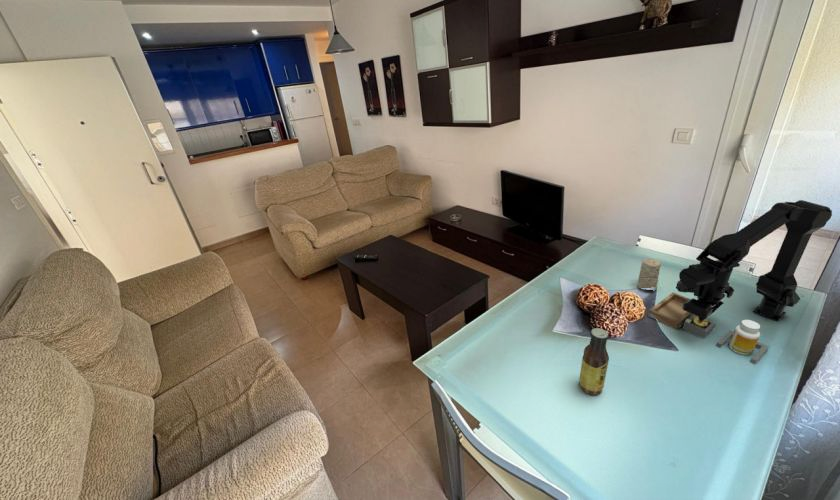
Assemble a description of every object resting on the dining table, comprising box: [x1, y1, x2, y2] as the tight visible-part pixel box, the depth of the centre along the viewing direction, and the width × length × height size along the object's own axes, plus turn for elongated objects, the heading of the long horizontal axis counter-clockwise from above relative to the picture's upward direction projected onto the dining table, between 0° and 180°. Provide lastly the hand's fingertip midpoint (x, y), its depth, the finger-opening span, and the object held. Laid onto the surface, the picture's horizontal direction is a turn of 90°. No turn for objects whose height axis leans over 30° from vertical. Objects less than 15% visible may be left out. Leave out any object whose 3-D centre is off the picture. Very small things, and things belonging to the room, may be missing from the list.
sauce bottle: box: [578, 327, 610, 396], centre depth 92 cm, size 6×6×20 cm
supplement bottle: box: [728, 319, 761, 356], centre depth 100 cm, size 5×5×10 cm
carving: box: [637, 258, 662, 289], centre depth 129 cm, size 6×8×12 cm
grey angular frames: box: [682, 315, 770, 365], centre depth 105 cm, size 9×19×4 cm, turn 32°
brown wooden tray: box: [648, 292, 694, 331], centre depth 118 cm, size 16×9×3 cm, turn 122°
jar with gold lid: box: [692, 316, 709, 329], centre depth 109 cm, size 4×4×3 cm
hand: (701, 319), depth 109 cm, fingers closed, pressing on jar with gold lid
